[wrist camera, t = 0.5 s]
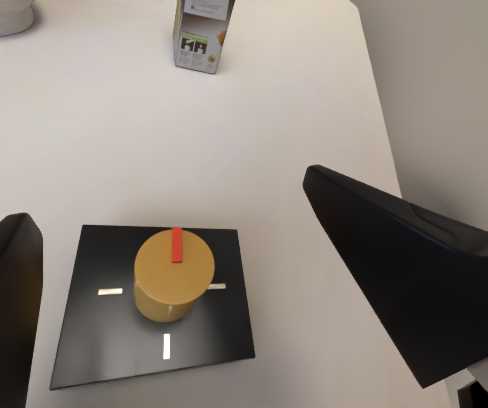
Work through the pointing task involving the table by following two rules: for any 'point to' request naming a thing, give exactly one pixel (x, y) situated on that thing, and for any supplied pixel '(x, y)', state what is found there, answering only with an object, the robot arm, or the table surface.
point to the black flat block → (136, 324)
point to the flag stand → (15, 16)
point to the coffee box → (200, 33)
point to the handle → (171, 274)
